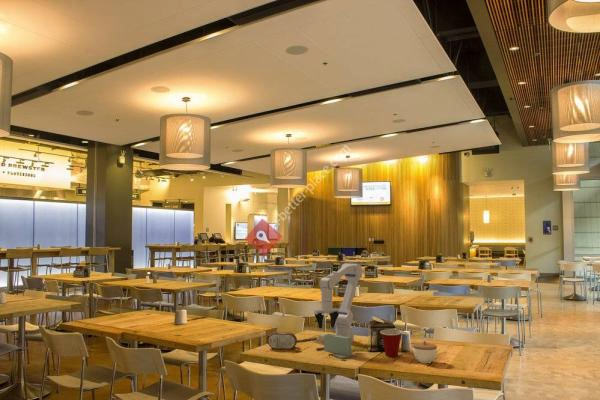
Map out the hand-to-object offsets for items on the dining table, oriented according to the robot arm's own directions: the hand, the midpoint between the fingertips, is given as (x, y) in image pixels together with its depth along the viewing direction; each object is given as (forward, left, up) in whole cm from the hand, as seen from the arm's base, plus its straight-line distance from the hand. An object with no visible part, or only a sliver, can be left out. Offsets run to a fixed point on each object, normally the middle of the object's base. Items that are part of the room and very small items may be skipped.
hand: (326, 327), depth 265 cm
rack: (+1, -5, -10) cm, 12 cm away
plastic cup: (-16, +31, -11) cm, 37 cm away
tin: (+21, -10, -11) cm, 25 cm away
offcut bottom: (-4, -5, -9) cm, 11 cm away
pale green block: (+4, +15, -10) cm, 18 cm away
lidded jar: (-21, +48, -11) cm, 54 cm away
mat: (+4, +15, -10) cm, 19 cm away
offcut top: (-4, -5, -7) cm, 10 cm away
